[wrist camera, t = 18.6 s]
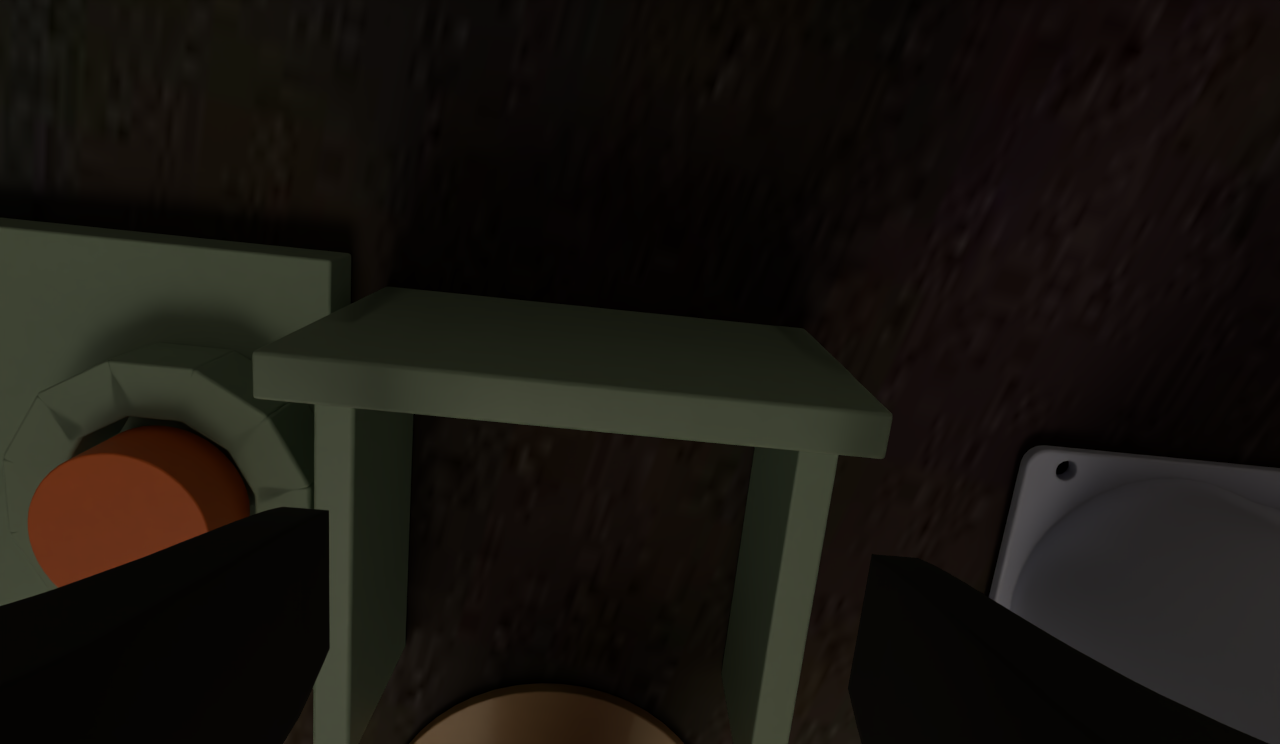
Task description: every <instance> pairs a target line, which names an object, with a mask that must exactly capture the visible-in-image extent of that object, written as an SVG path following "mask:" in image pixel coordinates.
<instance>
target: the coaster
mask: <svg viewBox="0 0 1280 744" xmlns="http://www.w3.org/2000/svg"><path fill="white" fill-rule="evenodd" d="M409 744H684V743H683V742H682V741H681V739H680V738H679V737H678V736H677V735H676V734H675V733H673V732H672V731H671V730H670V729H669V728H668V727H667V726H666V725H665V724H664V723H662V722H661V721H660V720H658V719H657V718H655V717H654V716H653V715H651V714H650V713H648V712H647V711H645V710H643V709H642V708H640V707H638V706H636V705H634V704H632V703H630V702H629V701H626V700H624V699H621V698H619V697H616V696H614V695H611V694H609V693H606V692H602V691H598V690H594V689H591V688H587V687H581V686H574V685H567V684H553V683H535V684H523V685H515V686H510V687H505V688H500V689H495V690H492V691H489V692H486V693H483V694H480V695H477V696H474V697H472V698H470V699H468V700H466V701H463V702H461V703H459V704H457V705H455V706H453V707H452V708H450V709H449V710H447V711H446V712H444V713H442V714H441V715H439V716H438V717H436V718H435V719H434V720H433V721H432V722H430V723H429V724H428V725H427V726H426V727H424V728H423V729H422V730H421V731H420V732H419V733H418V734H417V735H416V737H415V738H414V739H413V740H412V741H411V742H410V743H409Z"/></svg>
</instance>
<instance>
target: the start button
mask: <svg viewBox="0 0 1280 744" xmlns="http://www.w3.org/2000/svg"><path fill="white" fill-rule="evenodd" d="M248 516H250V504H249V498H248V493H247V490H246V487H245V484H244V482H243V480H242V478H241V476H240V474H239V472H238V470H237V469H236V468H235V466H234V465H233V463H232V462H231V461H230V460H229V459H228V458H227V456H226V455H225V454H224V453H223V452H221V451H220V450H219V449H218V448H217V447H216V446H214V445H213V444H211V443H210V442H209V441H207V440H205V439H204V438H202V437H200V436H198V435H196V434H194V433H191V432H189V431H186V430H182V429H179V428H175V427H169V426H157V425H151V426H141V427H136V428H132V429H129V430H126V431H124V432H121V433H119V434H117V435H115V436H113V437H111V438H109V439H108V440H106V441H104V442H102V443H100V444H98V445H96V446H94V447H92V448H90V449H88V450H86V451H84V452H83V453H81V454H79V455H77V456H75V457H73V458H71V459H69V460H67V461H65V462H64V463H62V464H60V465H58V466H57V467H56V468H54V469H53V470H52V471H50V472H49V474H48V475H47V476H46V477H45V478H44V479H43V480H42V481H41V483H40V484H39V486H38V487H37V489H36V491H35V493H34V495H33V497H32V500H31V503H30V507H29V512H28V534H29V540H30V543H31V547H32V550H33V552H34V555H35V557H36V559H37V561H38V563H39V565H40V566H41V568H42V569H43V571H44V572H45V574H46V575H47V576H48V577H49V579H50V580H51V581H52V582H53V583H54V584H55V585H56V586H57V587H58V588H59V587H62V586H65V585H67V584H70V583H73V582H76V581H78V580H81V579H84V578H87V577H90V576H92V575H95V574H98V573H101V572H104V571H106V570H109V569H112V568H115V567H118V566H120V565H123V564H126V563H129V562H131V561H134V560H137V559H140V558H142V557H145V556H148V555H150V554H153V553H155V552H158V551H160V550H163V549H165V548H168V547H171V546H173V545H176V544H178V543H181V542H183V541H186V540H188V539H191V538H193V537H196V536H199V535H201V534H204V533H206V532H209V531H211V530H214V529H216V528H219V527H221V526H224V525H227V524H229V523H232V522H235V521H237V520H240V519H243V518H245V517H248Z"/></svg>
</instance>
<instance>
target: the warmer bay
mask: <svg viewBox="0 0 1280 744" xmlns="http://www.w3.org/2000/svg"><path fill="white" fill-rule="evenodd" d="M252 363H253V396H254V398H257V399H265V400H275V401H286V402H296V403H306V404H314V509H318V510H329V603H330V649H329V651H328V654H327V656H326V658H325V661H324V663H323V665H322V668H321V670H320V672H319V675H318V677H317V679H316V682H315V684H314V705H313V744H359V742H360V740H361V737H362V735H363V733H364V731H365V729H366V727H367V725H368V723H369V721H370V719H371V717H372V714H373V712H374V710H375V708H376V706H377V704H378V702H379V700H380V698H381V696H382V693H383V691H384V689H385V687H386V685H387V683H388V681H389V679H390V677H391V675H392V673H393V670H394V668H395V666H396V664H397V662H398V660H399V658H400V656H401V654H402V652H403V650H404V647H405V639H406V611H407V582H408V554H409V525H410V497H411V468H412V440H413V414H421V415H431V416H441V417H452V418H462V419H472V420H483V421H493V422H504V423H514V424H524V425H535V426H545V427H556V428H566V429H576V430H587V431H597V432H607V433H618V434H628V435H639V436H649V437H659V438H670V439H680V440H691V441H701V442H711V443H722V444H732V445H742V446H753V447H755V449H754V456H753V462H752V469H751V476H750V483H749V490H748V496H747V503H746V510H745V517H744V524H743V530H742V537H741V544H740V551H739V557H738V564H737V571H736V578H735V585H734V591H733V598H732V605H731V612H730V618H729V625H728V632H727V639H726V646H725V652H724V659H723V666H722V673H721V675H722V681H723V686H724V692H725V698H726V704H727V710H728V716H729V721H730V727H731V733H732V739H733V744H788V740H789V735H790V729H791V723H792V718H793V712H794V706H795V701H796V695H797V689H798V683H799V678H800V672H801V666H802V661H803V655H804V649H805V643H806V638H807V632H808V626H809V621H810V615H811V609H812V604H813V598H814V592H815V586H816V581H817V575H818V569H819V564H820V558H821V552H822V547H823V541H824V535H825V529H826V524H827V518H828V512H829V507H830V501H831V495H832V490H833V484H834V478H835V472H836V467H837V461H838V455H846V456H857V457H867V458H877V459H882V458H884V457H885V454H886V449H887V444H888V439H889V433H890V428H891V423H892V418H893V417H892V413H890V412H889V411H888V410H887V409H886V408H885V407H884V406H883V405H882V404H881V403H880V402H879V401H878V400H877V399H876V398H875V397H874V396H873V395H872V394H871V393H870V392H869V391H868V390H867V389H866V388H864V387H863V386H862V385H861V384H860V383H859V382H858V381H857V380H856V379H855V378H854V377H853V376H852V374H851V373H850V372H849V371H848V370H847V369H845V368H844V367H843V366H842V365H841V364H840V363H839V362H838V361H837V360H836V359H835V358H834V357H833V356H832V355H831V354H830V353H829V352H828V351H827V350H826V349H825V348H824V347H823V346H821V345H820V344H819V343H818V342H817V341H816V340H815V339H814V338H813V337H812V336H811V335H810V334H809V333H808V332H807V331H806V330H805V329H803V328H794V327H784V326H772V325H763V324H753V323H743V322H733V321H723V320H713V319H703V318H694V317H684V316H674V315H664V314H654V313H644V312H634V311H624V310H615V309H605V308H595V307H585V306H575V305H565V304H555V303H545V302H536V301H526V300H516V299H506V298H496V297H486V296H476V295H466V294H457V293H447V292H437V291H427V290H417V289H407V288H397V287H385V288H383V289H381V290H379V291H377V292H375V293H373V294H370V295H368V296H366V297H364V298H362V299H360V300H358V301H356V302H354V303H352V304H350V305H348V306H346V307H344V308H342V309H340V310H338V311H335V312H333V313H331V314H329V315H327V316H325V317H323V318H321V319H319V320H317V321H315V322H313V323H311V324H309V325H307V326H305V327H303V328H301V329H298V330H296V331H294V332H292V333H290V334H288V335H286V336H284V337H282V338H280V339H278V340H276V341H274V342H272V343H270V344H268V345H266V346H263V347H261V348H259V349H257V350H255V351H254V352H253V355H252Z"/></svg>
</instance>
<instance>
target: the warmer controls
mask: <svg viewBox="0 0 1280 744" xmlns="http://www.w3.org/2000/svg"><path fill="white" fill-rule="evenodd" d="M350 304H351V254H349V253H342V252H332V251H322V250H312V249H303V248H293V247H283V246H273V245H264V244H254V243H244V242H234V241H224V240H215V239H205V238H195V237H185V236H176V235H166V234H156V233H146V232H137V231H127V230H117V229H107V228H98V227H88V226H78V225H68V224H59V223H49V222H39V221H29V220H20V219H10V218H0V606H2V605H6V604H9V603H12V602H15V601H19V600H22V599H25V598H28V597H32V596H35V595H38V594H41V593H44V592H47V591H50V590H53V589H56V588H58V587H57V586H56V585H55V584H54V583H53V582H52V581H51V580H50V579H49V577H48V576H47V575H46V574H45V572H44V571H43V569H42V568H41V566H40V565H39V563H38V561H37V559H36V557H35V555H34V552H33V550H32V547H31V543H30V540H29V534H28V512H29V507H30V503H31V500H32V497H33V495H34V493H35V491H36V489H37V487H38V486H39V484H40V483H41V481H42V480H43V479H44V478H45V477H46V476H47V475H48V474H49V472H50V471H52V470H53V469H54V468H56V467H57V466H58V465H60V464H62V463H64V462H65V461H67V460H69V459H71V458H73V457H75V456H77V455H79V454H81V453H83V452H84V451H86V450H88V449H90V448H92V447H94V446H96V445H98V444H100V443H102V442H104V441H106V440H108V439H109V438H111V437H113V436H115V435H117V434H119V433H121V432H124V431H126V430H129V429H132V428H136V427H141V426H151V425H157V426H169V427H175V428H179V429H182V430H186V431H189V432H191V433H194V434H196V435H198V436H200V437H202V438H204V439H205V440H207V441H209V442H210V443H211V444H213V445H214V446H216V447H217V448H218V449H219V450H220V451H221V452H223V453H224V454H225V455H226V456H227V458H228V459H229V460H230V461H231V462H232V463H233V465H234V466H235V468H236V469H237V470H238V472H239V474H240V476H241V478H242V480H243V482H244V484H245V487H246V490H247V493H248V498H249V504H250V516H251V515H254V514H257V513H260V512H263V511H266V510H270V509H274V508H278V507H294V508H306V509H314V404H306V403H296V402H286V401H275V400H265V399H257V398H254V396H253V363H252V355H253V352H254V351H255V350H257V349H259V348H261V347H263V346H266V345H268V344H270V343H272V342H274V341H276V340H278V339H280V338H282V337H284V336H286V335H288V334H290V333H292V332H294V331H296V330H298V329H301V328H303V327H305V326H307V325H309V324H311V323H313V322H315V321H317V320H319V319H321V318H323V317H325V316H327V315H329V314H331V313H333V312H335V311H338V310H340V309H342V308H344V307H346V306H348V305H350ZM313 688H314V686H313Z"/></svg>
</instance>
